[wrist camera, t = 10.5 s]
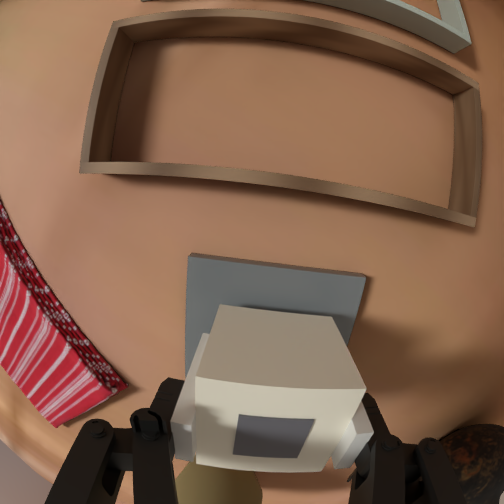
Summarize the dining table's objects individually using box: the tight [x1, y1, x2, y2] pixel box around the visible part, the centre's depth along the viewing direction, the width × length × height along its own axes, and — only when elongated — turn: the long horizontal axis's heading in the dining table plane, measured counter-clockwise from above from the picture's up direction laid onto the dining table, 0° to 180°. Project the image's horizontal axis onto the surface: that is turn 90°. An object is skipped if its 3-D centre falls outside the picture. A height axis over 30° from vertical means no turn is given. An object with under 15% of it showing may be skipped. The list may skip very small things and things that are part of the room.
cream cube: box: [195, 304, 367, 472], centre depth 12 cm, size 6×6×6 cm
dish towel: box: [0, 201, 128, 428], centre depth 17 cm, size 17×24×3 cm
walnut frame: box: [79, 9, 482, 228], centre depth 12 cm, size 23×10×2 cm, turn 83°
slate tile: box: [185, 253, 366, 377], centre depth 16 cm, size 10×10×1 cm
